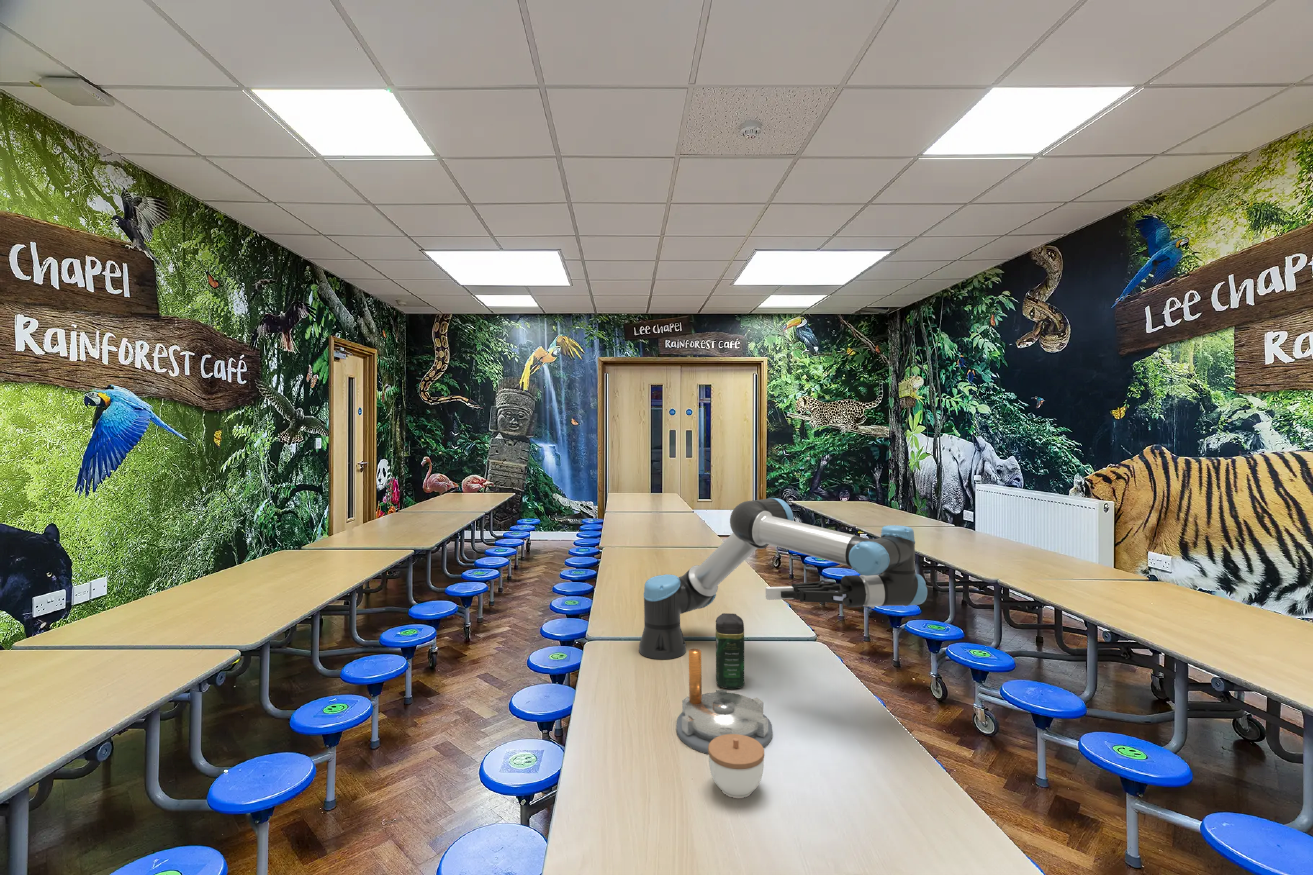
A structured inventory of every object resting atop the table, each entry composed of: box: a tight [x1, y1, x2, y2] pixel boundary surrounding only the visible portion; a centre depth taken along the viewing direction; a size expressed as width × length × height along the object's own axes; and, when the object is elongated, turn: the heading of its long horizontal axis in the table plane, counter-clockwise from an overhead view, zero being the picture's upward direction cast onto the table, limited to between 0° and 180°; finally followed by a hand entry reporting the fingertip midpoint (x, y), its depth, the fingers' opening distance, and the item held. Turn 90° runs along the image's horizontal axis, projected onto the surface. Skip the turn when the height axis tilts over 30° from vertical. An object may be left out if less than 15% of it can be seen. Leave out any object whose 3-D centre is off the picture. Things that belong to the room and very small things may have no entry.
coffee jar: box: [715, 612, 745, 690], centre depth 154 cm, size 10×8×19 cm
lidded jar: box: [707, 734, 765, 799], centre depth 106 cm, size 11×11×9 cm
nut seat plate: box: [676, 712, 773, 755], centre depth 128 cm, size 22×22×2 cm
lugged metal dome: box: [681, 648, 769, 741], centre depth 128 cm, size 21×19×15 cm
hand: (766, 593), depth 135 cm, fingers closed
